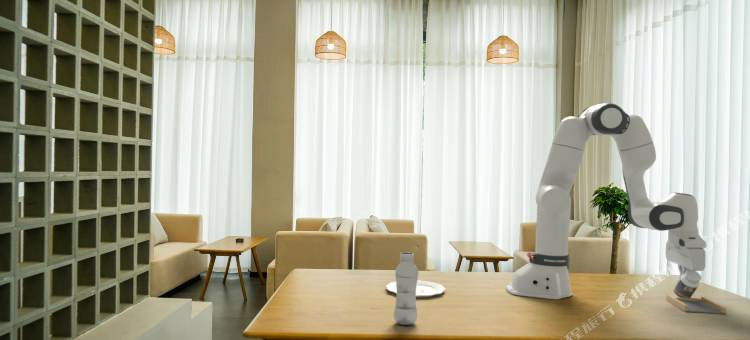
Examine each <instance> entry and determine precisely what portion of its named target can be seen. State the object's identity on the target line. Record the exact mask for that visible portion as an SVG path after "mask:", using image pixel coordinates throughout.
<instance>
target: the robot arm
mask: <svg viewBox="0 0 750 340" xmlns="http://www.w3.org/2000/svg"><path fill="white" fill-rule="evenodd" d="M607 135H610V136H611V137H612V138H613V140H614V142H615V144H616V147H617V151H618V153H619V157H620V160H621V166H622V167H621V168H622V169H621V170H622V171H621V172H622V178H623V181H624V186H625V187H624V188H625V191H626V196H627V200H628V206H627V217H628V220H629V221H630V223H631V224H632V225H633V226H634V227H636V228H640V229H649V230H652V231H654V230H655V231H658V232H664V231H668V240H667V241H666V243H665V259H666V260H667V261H670V262H671V263H674V264H676V265H677V269H678V271H679V278H680V277H681V276H682V275H683V274H685V273H686V271H687V270H693V271H696V272H702V271H704V270H705V268H706V250H705V248H707V242H706V241H705V240H704V239H703V238H702V237H701V235H700V234H699V228H698V220H699V209H698V208H699V207H698V202H697V199H696V196H694V195H692V194H689V193H682V192H671V193H670V194H669V195H668V196H666V197H664V198H663V199H661V200H658V201H656V202H652V201H651V200H650V199H649V197H648V194H647V191H646V185H645V181H644V175H645V173H646V171H647V170H649V169H650V168H651V167H652V166H653V165H654V164H655V162H656V160H657V151H656V147H655V144H654V140H653V138H652V135H651V133H650V131H649V129H648V127H647V124H646V123H645V121H644V120H643V118H642V117H641V116H639V115H636V114H628V113H627V112H626V111H624V109H623V108H621V107H620V106H619V105H617V104H615V103H613V102H612V103H611V102H604V103H597V104H594V105H590V106H588V107H587V108H584V110H583V111H581V112H580V114H579V115H578V116H568V117H565V118H562V120H561V121H560V123H559V125H558V127H557V129H556V131H555V133H554V136H553V139H552V142H551V145H550V149H549V153H548V156H547V160H546V163H545V167H544V170H543V171H542V175H541V178H540V181H539V183H538V184H539V185H538V188H537V191H536V194H535V202H536V205H537V207H536V208H537V209H536V222H535V223H536V225H535V251H534V252H532V251H527V252H526V256H527V258H529V259H528V261H529V262H528V263H526V264H525V265H523V266H521V267H520V268H519V269H516V270H515V272H514V274H513V277H512V281H511V282H509V283H507V284H506V286H505V289H506V291H507V292H508V293H509V294H511V295H515V296H522V297H531V298H540V299H548V300H549V299H551V300H560V299H564V298H568V297H571V296H573V293H572V290H571V289H572V288H571V284H570V278H569V269H570V254H569V233H570V232H569V231H570V222H571V213H572V212H571V210H572V196H571V192H572V191H571V190H572V189H573V186H574V183H575V180H576V178H577V176H578V173H579V170H580V165H581V164H582V159H583V155H584V152H585V149H586V145H587V143H588V140H589V139H590V137H591V136H607Z"/></svg>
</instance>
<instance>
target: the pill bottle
mask: <svg viewBox="0 0 750 340" xmlns="http://www.w3.org/2000/svg"><path fill="white" fill-rule="evenodd" d="M701 280H702V276H701V274H700V273H699V271H693V270H687V271H686V273H685V274H683V275H682V276H681V277H680V276H679V279H678V280H677V282H676V283H675V285H674V286H673V289H672V290H673V294H674V295H675V297H684V298H693V295H694V294H695V292H696V291H697V289H698V288H699V287H700V281H701Z"/></svg>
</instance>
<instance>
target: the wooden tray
mask: <svg viewBox="0 0 750 340" xmlns="http://www.w3.org/2000/svg"><path fill="white" fill-rule="evenodd" d="M665 300H667V301H666V302H668V301H669V302H668V303H670V304H671V303H672V305H673V306H674V305H675V306H674V307H677V308H678V309H679V310H681V311H682V312H684V313H699V314H715V315H717V314H718V315H727V307H725V306H723V305H721V304H719V303H717V302H716V301H714V300H711V299H710V298H708V297H706V296H701V298H698V297H691V298H684V297H678V296H672V295H671V294H666V295H665Z"/></svg>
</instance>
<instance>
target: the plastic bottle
mask: <svg viewBox="0 0 750 340" xmlns="http://www.w3.org/2000/svg"><path fill="white" fill-rule="evenodd" d="M399 255H400V256H399V260H400V262H399V264H398V265H397V267H396V268H395V271H394V274H395V282H396V287H397V294H396V298H395V306H394V309H393V310H394V311H393V318H394V319H393V320H394V321H395V323H396V324H398V325H401V326H403V325H404V326H409V325H413V324H415V323H416V322H417V320H418V308H417V301H416V300H417V297H416V285H417V280H419V270H418V269H419V268H418V267H417V266H416V264H415V263H414V261H415V258H414V252H408V251H407V252H406V251H405V252H400V254H399Z"/></svg>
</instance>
